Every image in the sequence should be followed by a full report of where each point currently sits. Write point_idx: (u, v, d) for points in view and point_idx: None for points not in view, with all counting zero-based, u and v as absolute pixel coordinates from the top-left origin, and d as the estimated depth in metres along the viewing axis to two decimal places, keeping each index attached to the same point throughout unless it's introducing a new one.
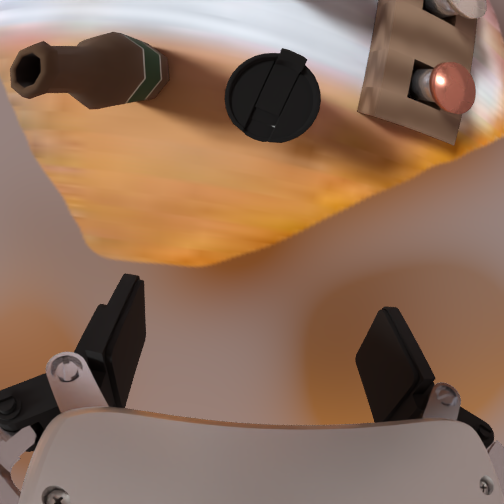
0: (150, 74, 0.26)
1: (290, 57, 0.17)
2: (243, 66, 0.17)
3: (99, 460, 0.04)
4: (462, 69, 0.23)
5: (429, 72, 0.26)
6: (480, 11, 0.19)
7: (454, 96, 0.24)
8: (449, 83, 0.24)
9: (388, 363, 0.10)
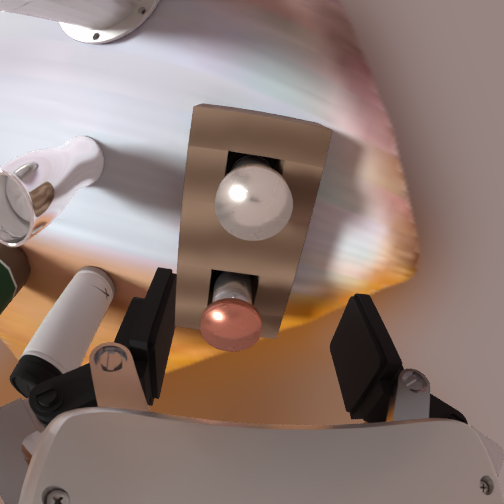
0: (0, 302, 0.31)
1: (27, 382, 0.21)
2: (11, 378, 0.22)
3: (99, 460, 0.04)
4: (238, 311, 0.27)
5: (215, 297, 0.31)
6: (277, 224, 0.24)
7: (229, 338, 0.29)
8: (219, 328, 0.28)
9: (357, 349, 0.11)
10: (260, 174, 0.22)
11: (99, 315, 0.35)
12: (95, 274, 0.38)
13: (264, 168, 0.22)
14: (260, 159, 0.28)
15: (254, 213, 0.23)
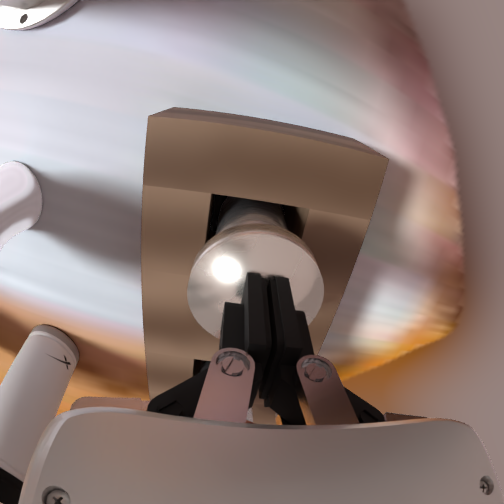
0: None
1: None
2: None
3: (99, 460, 0.04)
4: None
5: None
6: None
7: None
8: None
9: None
10: (268, 247, 0.12)
11: (58, 392, 0.24)
12: (51, 337, 0.27)
13: (276, 236, 0.12)
14: None
15: None
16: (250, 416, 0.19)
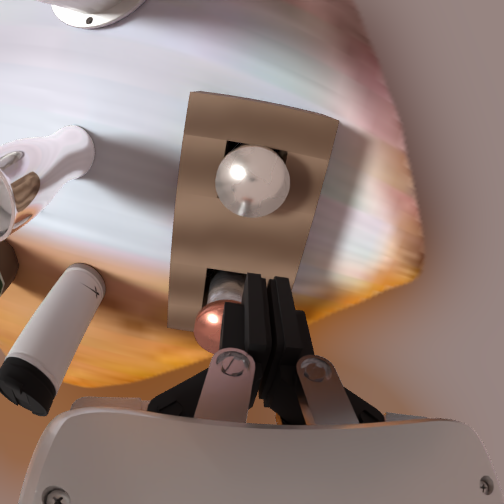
0: None
1: (10, 387, 0.19)
2: None
3: (99, 460, 0.04)
4: None
5: (211, 298, 0.29)
6: (274, 201, 0.25)
7: None
8: (215, 331, 0.26)
9: None
10: (259, 153, 0.23)
11: (88, 315, 0.33)
12: (85, 271, 0.35)
13: (263, 148, 0.23)
14: None
15: (253, 190, 0.24)
16: None
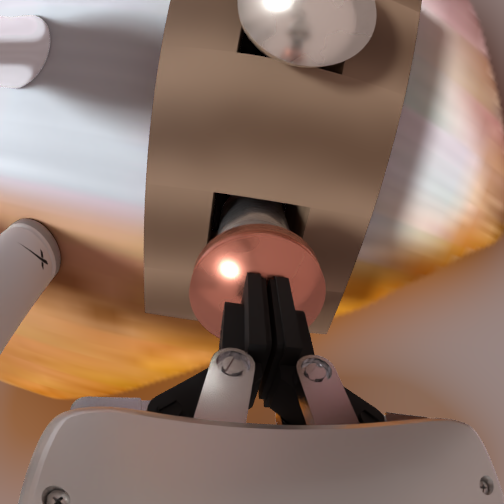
0: None
1: None
2: None
3: (99, 460, 0.04)
4: (279, 250, 0.12)
5: None
6: (351, 40, 0.10)
7: None
8: (233, 294, 0.13)
9: None
10: None
11: (25, 292, 0.18)
12: (29, 228, 0.21)
13: None
14: None
15: (311, 15, 0.10)
16: None
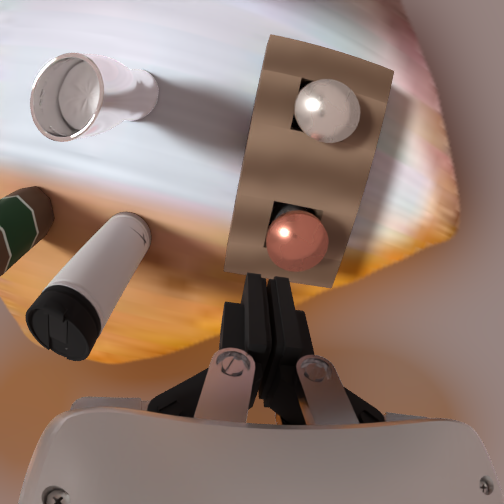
0: (18, 244, 0.29)
1: (51, 313, 0.19)
2: (29, 312, 0.20)
3: (99, 460, 0.04)
4: (308, 221, 0.28)
5: (278, 217, 0.31)
6: (347, 129, 0.25)
7: (294, 254, 0.29)
8: (287, 241, 0.28)
9: None
10: (335, 84, 0.23)
11: (136, 259, 0.33)
12: (132, 218, 0.36)
13: None
14: None
15: (329, 117, 0.25)
16: None
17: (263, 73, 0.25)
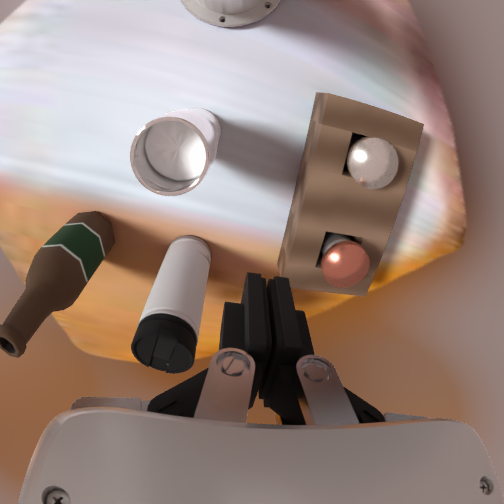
0: (92, 270, 0.36)
1: (165, 339, 0.26)
2: (138, 339, 0.27)
3: (99, 460, 0.04)
4: (356, 249, 0.34)
5: (329, 244, 0.38)
6: (387, 178, 0.32)
7: (343, 274, 0.36)
8: (339, 265, 0.35)
9: None
10: (381, 142, 0.30)
11: (207, 279, 0.40)
12: (196, 242, 0.42)
13: None
14: None
15: (374, 169, 0.31)
16: None
17: (322, 128, 0.31)
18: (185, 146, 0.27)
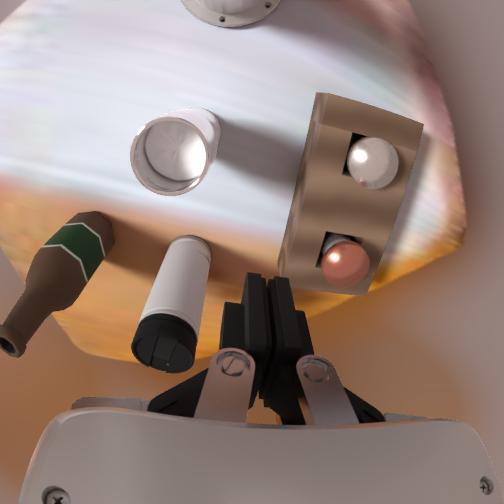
0: (92, 270, 0.36)
1: (166, 339, 0.26)
2: (138, 339, 0.27)
3: (99, 460, 0.04)
4: (356, 249, 0.34)
5: (329, 244, 0.38)
6: (387, 178, 0.32)
7: (343, 274, 0.36)
8: (339, 265, 0.35)
9: None
10: (381, 142, 0.30)
11: (207, 279, 0.40)
12: (196, 242, 0.42)
13: None
14: None
15: (374, 169, 0.31)
16: None
17: (322, 128, 0.31)
18: (185, 146, 0.27)
